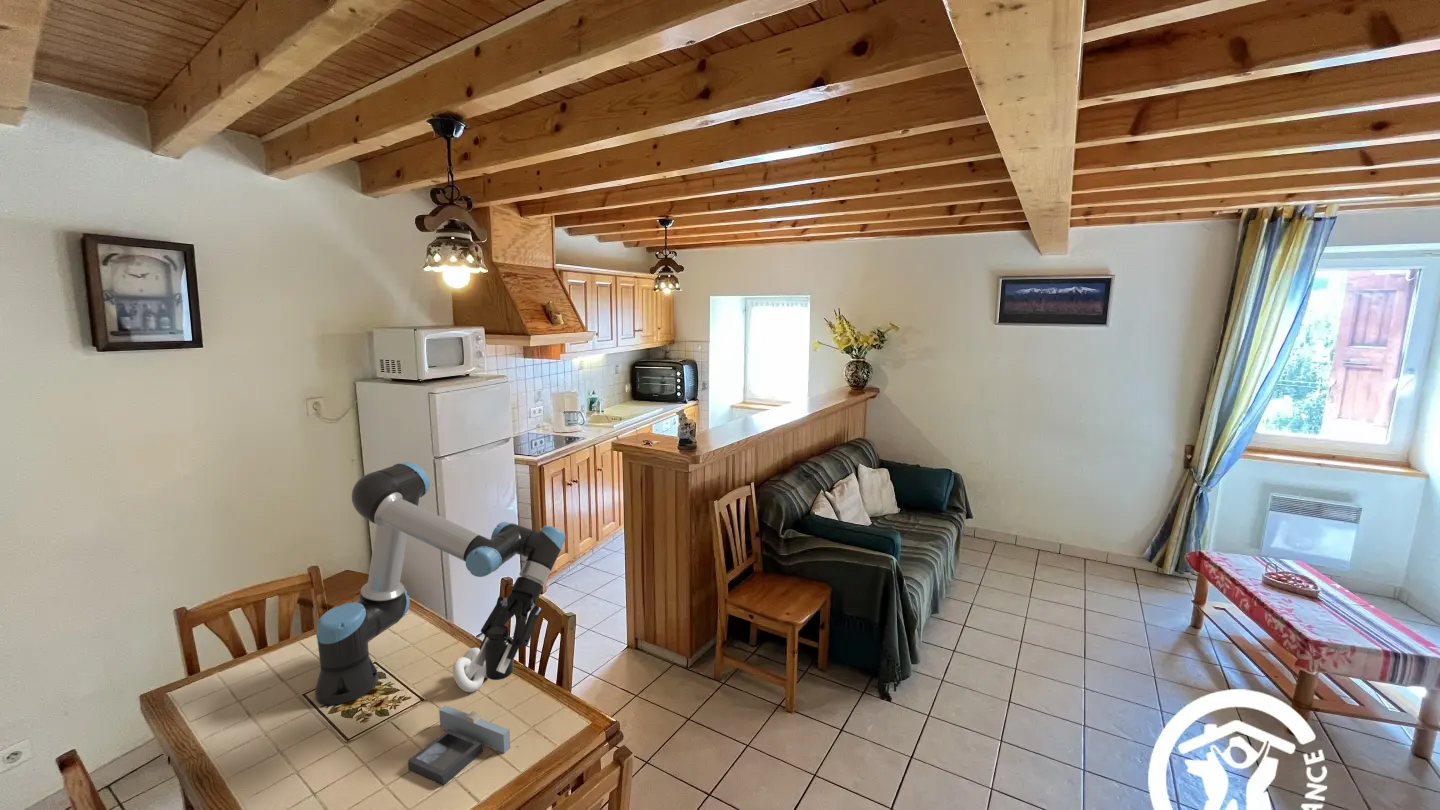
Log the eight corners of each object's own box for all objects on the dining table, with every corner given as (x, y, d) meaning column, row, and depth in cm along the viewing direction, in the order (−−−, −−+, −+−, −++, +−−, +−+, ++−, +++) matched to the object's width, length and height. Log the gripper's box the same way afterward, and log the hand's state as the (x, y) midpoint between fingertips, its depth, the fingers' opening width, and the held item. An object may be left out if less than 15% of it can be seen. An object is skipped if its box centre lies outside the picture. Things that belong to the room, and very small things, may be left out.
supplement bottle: (504, 682, 142) (502, 639, 141) (480, 679, 144) (477, 635, 142) (519, 666, 149) (517, 624, 147) (496, 663, 150) (493, 621, 149)
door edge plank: (440, 727, 147) (438, 705, 146) (446, 722, 149) (445, 700, 148) (504, 753, 138) (502, 730, 138) (510, 747, 140) (509, 725, 139)
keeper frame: (408, 769, 133) (407, 760, 133) (449, 737, 144) (448, 728, 143) (443, 785, 129) (442, 776, 128) (482, 751, 139) (482, 742, 139)
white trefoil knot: (498, 667, 173) (496, 640, 172) (495, 691, 162) (494, 663, 160) (457, 674, 169) (456, 647, 168) (452, 699, 158) (450, 670, 157)
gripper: (566, 593, 154) (527, 681, 142) (510, 579, 162) (469, 662, 149) (553, 582, 148) (510, 674, 136) (496, 569, 156) (451, 655, 144)
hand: (489, 668), depth 143 cm, fingers closed on supplement bottle, 7 cm apart
